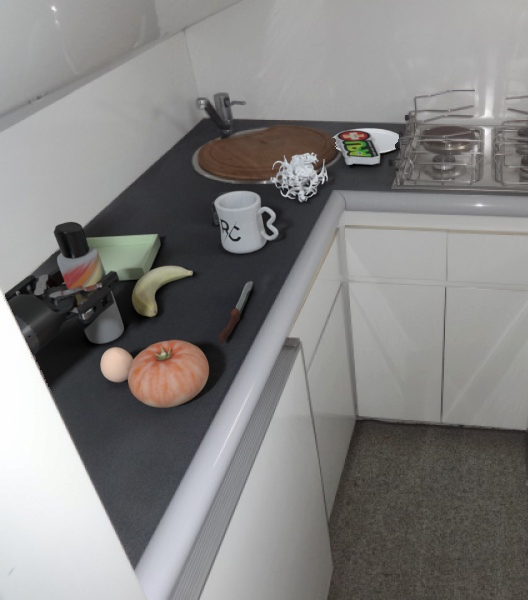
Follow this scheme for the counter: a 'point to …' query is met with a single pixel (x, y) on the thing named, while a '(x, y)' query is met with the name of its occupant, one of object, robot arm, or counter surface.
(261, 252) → the counter surface
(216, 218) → the reflex sight
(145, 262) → the green tray
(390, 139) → the plate
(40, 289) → the robot arm
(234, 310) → the knife
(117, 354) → the egg
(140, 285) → the fruit
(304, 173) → the figurine
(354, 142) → the sign
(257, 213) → the mug
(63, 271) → the lotion bottle
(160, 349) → the tomato
